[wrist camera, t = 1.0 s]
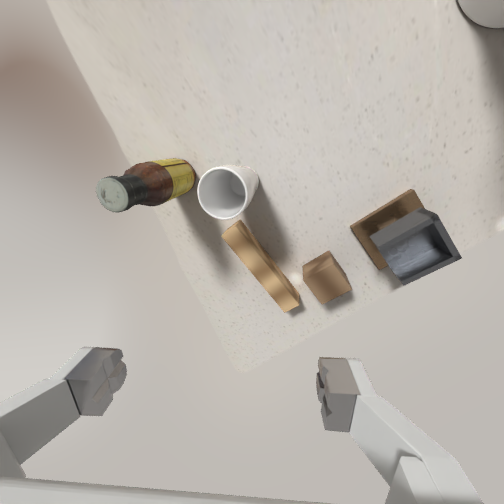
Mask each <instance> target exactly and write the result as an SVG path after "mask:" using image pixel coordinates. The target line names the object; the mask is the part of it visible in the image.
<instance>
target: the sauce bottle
mask: <svg viewBox="0 0 504 504" xmlns="http://www.w3.org/2000/svg"><path fill="white" fill-rule="evenodd" d="M195 176H196V175H195V172H194V169H193V168H192V166H191V165H190V164H189V163H188V162H187V161H185V160H181V159H176V158H173V159H166V160H158V161H150V162H145V163H139V164H136V165H135V166H132V167H131V168H130V169H128V170H126V171H125V174H124V175H123V176H121V177H117V176H109V177H106V178H103V179H101V180H100V181H99V182H98V184H97V187H96V193H97V197H98V199H99V200H100V203H101V204H102V205H103V206H104V207H105V208H106V209H107V210H109V211H112V212H122V211H125V210H128V209H129V208H131V207H132V206H134V205H137V204H141V205H146V206H157V205H160V204H163V203H165V202H167V201H169V200H171V199H173V198H175V197H178V196H180V195H182V194H184V193H186V192H188V191H189V190H190V189H191V188H192V187H193V185H194V182H195Z"/></svg>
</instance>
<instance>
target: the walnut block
mask: <svg viewBox="0 0 504 504" xmlns="http://www.w3.org/2000/svg"><path fill="white" fill-rule="evenodd" d="M303 281H304V282H305V283H306V285H307V286H308V287H309V288H310V290H311V291H312V292H313V294H314V295H315V296H316V298H317V299H318V300H319V301H320V303H321V304H324V303H326V302H328V301H330V300H332V299H334V298H336V297H338V296H340V295H342V294H344V293H346V292H348V291H350V290H352V288H351V286H350V283H349V281H348V278H347V276H346V273H345V272H344V271H343V269H342V268H341V266H340V265H339V264H338V262H337V261H336V260H335V258H334V257H333V255H332V254H331V253H330V251H327V252H325V253H324V254H322V255H320V256H319V257H317V258H315V259H314V260H312V261H310V262H308V263H307V264H305V265H303Z"/></svg>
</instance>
